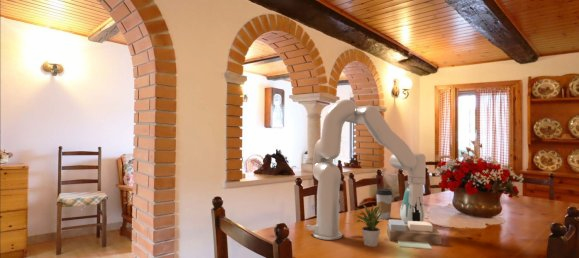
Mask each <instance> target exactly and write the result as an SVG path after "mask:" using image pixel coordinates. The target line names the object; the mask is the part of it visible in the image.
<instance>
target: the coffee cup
mask: <svg viewBox="0 0 579 258" xmlns="http://www.w3.org/2000/svg"><path fill="white" fill-rule="evenodd" d="M375 194H376V207H377V206H380V205H382V206H380V208H379V210H380V209H381V210H380V212H379V210H378V212H379V214H380V213H381V212H382V214H381V216H380V217H379V220H389V219H390V218H391V214H392V213H391V212H392V201H393V198H392V197H393V192H392V189H389V188H377V189H376V193H375ZM381 207H382V208H381ZM383 209H384V210H383ZM382 210H383V211H382ZM378 212H377V213H378ZM383 212H384V213H383ZM379 214H378V216H379ZM378 216H377V217H378Z"/></svg>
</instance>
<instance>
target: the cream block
mask: <svg viewBox="0 0 579 258" xmlns="http://www.w3.org/2000/svg"><path fill="white" fill-rule="evenodd" d="M407 225H408V228H409V229H410V230H415V231H431V232H432V227H433V225H432V223H431V222H430V221H423V222H420V221H408V224H407Z"/></svg>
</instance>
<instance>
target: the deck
mask: <svg viewBox="0 0 579 258" xmlns="http://www.w3.org/2000/svg"><path fill="white" fill-rule="evenodd" d="M405 225H406V231H391V229H390V227H389V223H387V226H386V229H387V230H386V231H387V232H386V233H387V236H388V239H389V241H390V242H397V241H410V242H425V243H429V245H439V246H441V245H442V234H441V233H440V231H438V230H437V228H436V227H434V226H432V232H431V231H415V230H410V229H409V228H408V224H405Z"/></svg>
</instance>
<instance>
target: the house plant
mask: <svg viewBox="0 0 579 258" xmlns="http://www.w3.org/2000/svg"><path fill="white" fill-rule="evenodd" d="M362 206H363V207H364V209H365V212H366V213H365V212H364V211H363V210H362V209H360V208H358V207H353V208H355V209H356V210H358V211H360V213H361V214H362V215H363V216H361V215H357V214H352V216H354V217H355V218H357V220H356V221H355V224H357V223H360V222H361V223H363V225H364V226H363V227H361V232H362V238H363V245H365V246H367V247H377V246H378V242H379V237H380V231H381V229H380V228H378V227H377V225H378V224H380V223H381V222H382V223H383V220H381V221H380V218H379V217H380V216H381V214H382V212H381V213H380V214H379V212H380V210H381V209H380V210H379V208H380V206H382V205H380V206H377V205H376V206H375V207H374V205H372V206H371V210H370V208H369V207H367V206H366V205H364V204H362ZM381 208H382V207H381ZM378 210H379V212H378ZM383 210H384V209H383ZM383 210H382V211H383ZM383 213H384V212H383ZM378 214H379V216H378Z"/></svg>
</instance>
